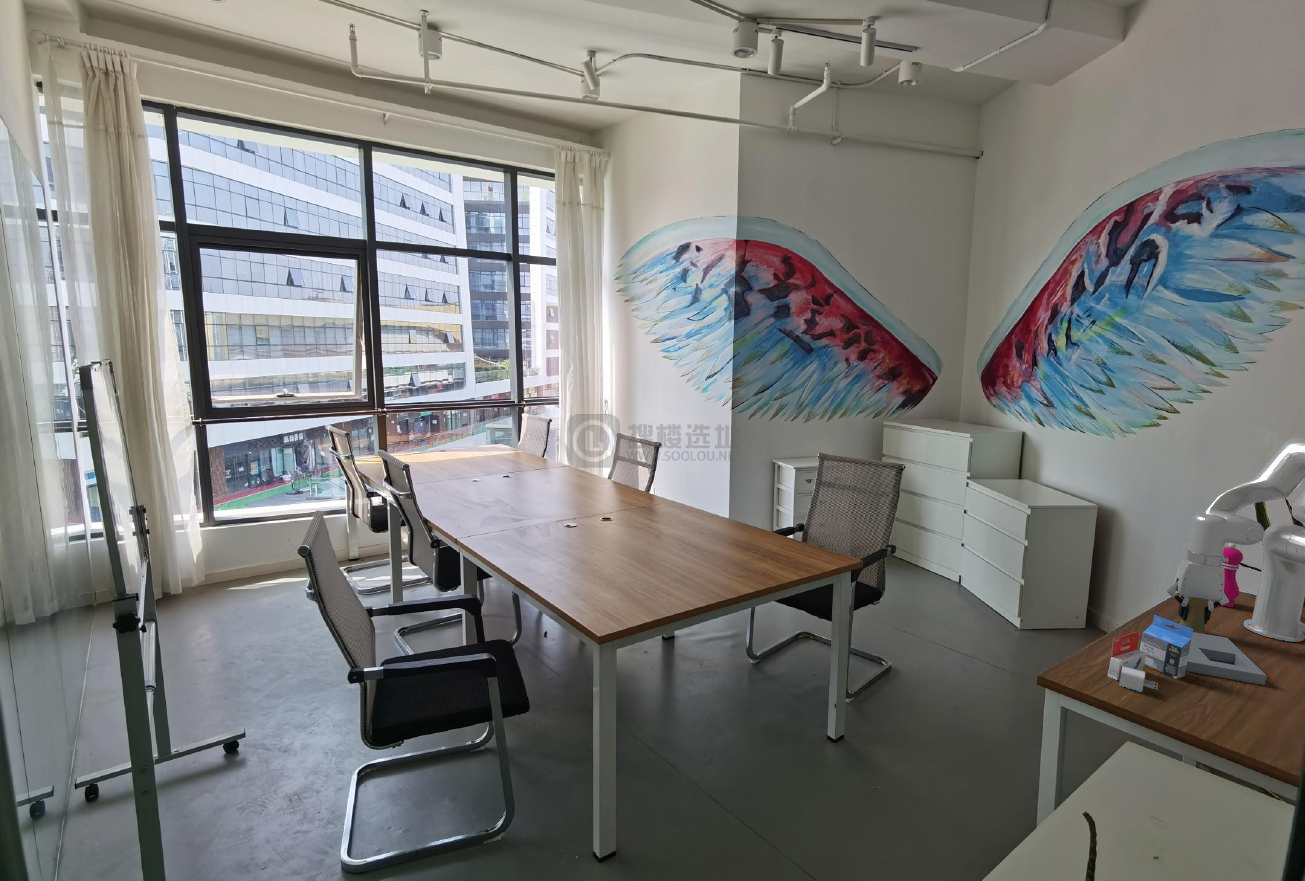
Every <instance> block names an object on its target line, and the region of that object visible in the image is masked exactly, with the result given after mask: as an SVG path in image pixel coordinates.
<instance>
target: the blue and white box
mask: <svg viewBox="0 0 1305 881" xmlns="http://www.w3.org/2000/svg"><path fill="white" fill-rule="evenodd" d="M1166 625H1168V626H1170V627H1168V626H1166ZM1171 626H1173V627H1174V628H1171ZM1174 629H1177V630H1179V631H1177V630H1174ZM1192 633H1193V629H1191V628H1188V627H1186V626H1183V625H1180V624H1179V623H1177V622H1175V621H1172V620H1170V619H1167V618H1164V617H1161V616H1159V615H1156V614H1154V616H1153V620H1152V623H1151V625H1150V626H1148V627H1147V628H1146V629H1145V630H1144V631H1143V632H1142V636H1141V639H1140V640H1141V641H1140V646H1139V651H1142V652H1144V653H1146V658H1145V663H1144V667H1147V666H1148V668H1150V669H1153V670H1154V669H1155V670H1154V671H1157V672H1160V673H1161V672H1162V674H1163V675H1166V676H1168V677H1171V678H1172V677H1173V679H1175V680H1179V679H1181V678H1185V676H1186V672H1187V671H1186V666H1187V660H1188V655H1189V650H1190V645H1191V639H1192Z"/></svg>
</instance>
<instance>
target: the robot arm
mask: <svg viewBox="0 0 1305 881" xmlns="http://www.w3.org/2000/svg"><path fill="white" fill-rule="evenodd" d="M1304 480H1305V438H1302V437H1299V438H1291V439H1289V440H1287V441H1285V442H1284V443H1283V444H1282V445H1281V446H1280V447H1279V449H1277V451H1276V452H1275V453H1274V454H1273V455H1272V457H1270V459H1269V460H1268V461H1267V462H1266V464H1265V465H1264V466H1263V467H1262V468H1261V470H1259V472H1258V473H1257V474H1256V475H1255V476H1254V477H1253V478H1252V479H1250V480H1248V481H1246V482H1243V483H1240V484H1239V485H1236V486H1234V487H1232V488H1229V489H1228V490H1226V491H1223V493H1221V494H1220V495H1218V496H1217V497H1216V498H1215V500H1214V501H1212V503H1211V504H1210V505H1209V506H1208V508H1207V509H1206V510H1205V512H1204V513H1197V514H1195V515H1194V516H1193V518H1192V522H1191V528H1190V533H1189V539H1188V545H1187V546H1188V547H1187V553H1186V556H1185V557H1186V558H1182V559H1181V560H1180V563H1179V565H1178V568H1177V571H1176V574H1175V578H1174V580H1173V581H1174V582H1173V584H1172V585H1171V586H1170V587H1169V588H1167V589H1166V593H1167V594H1168V595H1169V596H1171V597H1172V598H1174V600H1176V601H1177V603H1178V604H1179V606H1178V610H1177V613H1178V614H1177V615H1178V616H1179V617H1180V620H1181V619H1182V620H1184V621H1186V619H1187V615H1188V609H1189V608H1188V607H1187V604H1188V601H1189V598H1190V597H1196V598H1203V599H1207V600H1208V606H1207V607H1205V618H1204V623H1205V625H1207V624H1208V621H1210V619H1211V613H1212V612H1213V611H1214V610H1215V609H1216V608H1219V607H1221V606H1220V605H1223V604H1226V603H1229V600H1228V598H1227V597H1226V595H1225V593H1224V567H1223V566H1222V563H1223V562H1228V560H1229V559H1228V557H1224V556H1223V551H1224V547H1225V546H1226V543H1228V544H1229V543H1233V544H1235V545H1240V546H1252V545H1253V546H1254V545H1256V544H1258V543H1260V542H1261V541H1262V542H1261V543H1262V565H1261V571H1260V575H1259V581H1258V586H1257V591H1256V596H1255V602H1254V608H1253V611H1252V612H1253V613H1252V616H1251V618H1250V619H1245V620H1244V621H1243V626H1244V627H1245V628H1246V629H1247V630H1249V631H1251V632H1253V633H1255V634H1258V635H1260V636H1264V637H1267V638H1270V639H1273V638H1274V639H1275V640H1279V641H1283V640H1284V641H1285V642H1292V643H1295V642H1296V643H1298V642H1299V643H1301V642H1303V641H1305V623H1303V622H1302V621H1301V616H1302V612H1303V607H1304V602H1305V527H1304V526H1301V525H1297V524H1291V523H1285V522H1280V523H1279V522H1278V523H1274V524H1271V525H1270V526H1269V527H1267V528H1266V529H1264V526H1262V524H1261V523H1259V522H1258V521H1256V520H1254V519H1252V518H1249V517H1246V516H1243V515H1241V514H1237V513H1238V512H1239V511H1241V509H1243V508H1245V507H1248V506H1249V505H1253V504H1256V503H1262V502H1269V501H1276V500H1283V499H1288V498H1289V497H1291V495H1293V493H1294V492H1295V491H1296V489H1297V488H1298V487H1299V486H1300V485H1301V484H1302V483H1303V481H1304ZM1291 516H1292V517H1293V518H1294V519H1295V520H1296V521H1299V522H1300V523H1302V524H1305V489H1304V490H1303V491H1302V493H1301V494H1300V495H1299V497H1298V498H1297V499H1296V501H1295V502H1294V504H1293V506H1292V508H1291ZM1176 592H1178V593H1176ZM1274 639H1273V640H1274Z"/></svg>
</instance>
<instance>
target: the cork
mask: <svg viewBox="0 0 1305 881" xmlns="http://www.w3.org/2000/svg"><path fill="white" fill-rule="evenodd" d="M1207 606H1208V600H1207V599H1203V598H1196V597H1190V598H1189V601H1188V604H1187V607H1188V608H1189V609H1188V615H1187V619H1186V621H1184V620H1182V619H1181V618H1180V620H1179V623H1178V624H1180V625H1183V626H1186V627H1188V628H1191V629H1193V632H1195V633H1201V634H1206V624H1205V623H1204V618H1205V607H1207Z"/></svg>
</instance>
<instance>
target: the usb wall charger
mask: <svg viewBox="0 0 1305 881" xmlns="http://www.w3.org/2000/svg"><path fill="white" fill-rule="evenodd" d="M1145 678H1146V671H1144V670H1143V671H1140V670H1136V669H1133V668H1129V667H1125V666H1122V671H1121V677H1120V680H1119V684H1118V685H1119V687H1121V686H1122V687H1121V688H1124V687H1126V689H1129V690H1131V689H1132V691H1134V690H1136V691H1135V692H1138V693H1141V692H1142V693H1143V688H1144V687H1147V688H1149V689H1154V690H1158V688H1159V683H1158V682H1156V681H1153V680H1150V679H1145Z"/></svg>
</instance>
